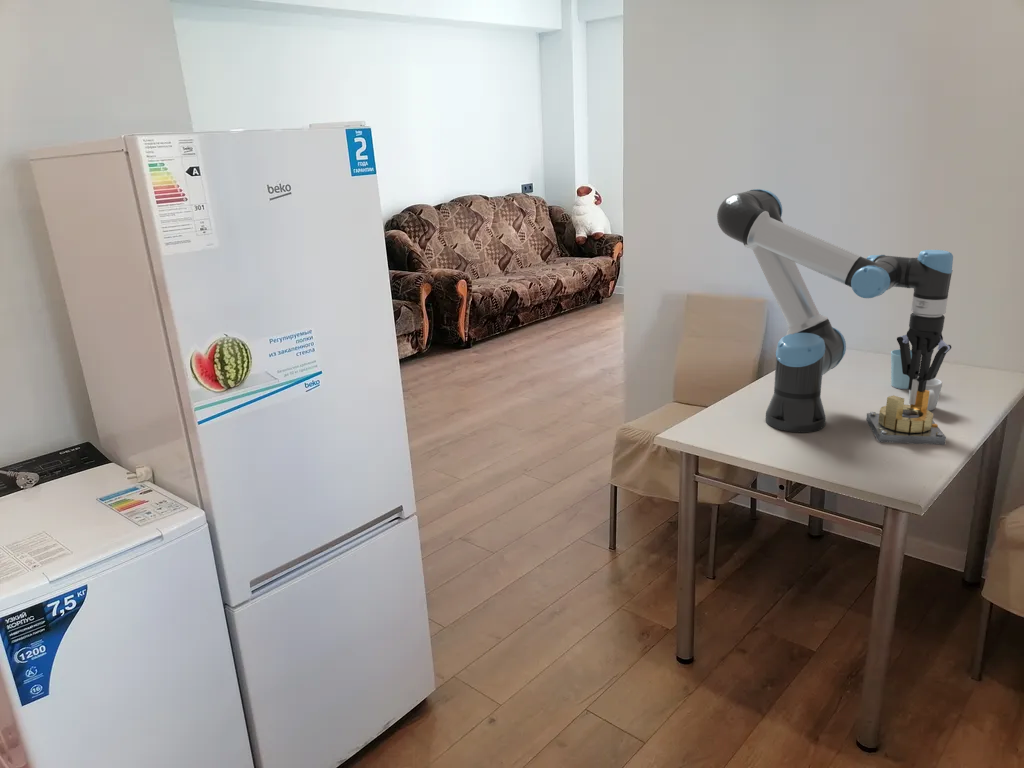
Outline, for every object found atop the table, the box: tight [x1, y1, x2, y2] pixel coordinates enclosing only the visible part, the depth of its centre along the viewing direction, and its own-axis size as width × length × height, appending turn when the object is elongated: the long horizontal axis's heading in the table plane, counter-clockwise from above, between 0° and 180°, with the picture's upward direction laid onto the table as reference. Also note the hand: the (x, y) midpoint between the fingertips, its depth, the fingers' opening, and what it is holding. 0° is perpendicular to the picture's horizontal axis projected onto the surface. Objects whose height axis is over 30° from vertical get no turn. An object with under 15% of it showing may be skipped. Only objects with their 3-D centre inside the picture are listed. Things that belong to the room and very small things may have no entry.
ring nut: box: [878, 390, 934, 433], centre depth 193 cm, size 12×12×8 cm
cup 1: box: [890, 348, 912, 390], centre depth 225 cm, size 8×8×10 cm
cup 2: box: [908, 376, 943, 412], centre depth 207 cm, size 11×8×8 cm
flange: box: [865, 410, 947, 446], centre depth 194 cm, size 15×15×5 cm
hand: (914, 402), depth 195 cm, fingers closed
